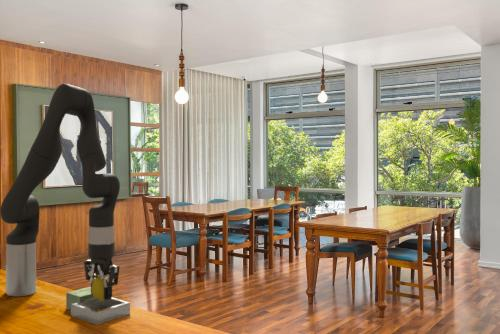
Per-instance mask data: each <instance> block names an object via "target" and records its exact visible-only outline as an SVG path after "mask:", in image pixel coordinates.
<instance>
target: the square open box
mask: <svg viewBox="0 0 500 334" xmlns="http://www.w3.org/2000/svg"><path fill="white" fill-rule="evenodd" d="M65 295H66V296H65V297H66V300H65V303H66V304H65V309H67V310H69V311H70V316H71V317H73V318H76V319H79V320H82V321H85V322H87V323H89V324H92V325H96V326H97V325H101V324H103V323H107V322H109V321H112V320H116V319H119V318H121V317H125V316H129V315H130V314H131V302H130V301H126V300H122V299H120V298H116V297H113V296H112V298H111V299H109V300H105V299H104V300H103V301H102V302H100V301H99V300H98V299H96V298H95V297H94V296H92V295H91V286H87V287H83V288H79V289H75V290H71V291H67V292H66V293H65Z"/></svg>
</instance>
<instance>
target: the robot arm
mask: <svg viewBox="0 0 500 334" xmlns="http://www.w3.org/2000/svg"><path fill="white" fill-rule="evenodd" d="M66 115H70V116H74V117H77V118H78V119H79V123H80V126H81V130H80V133H79V136H78V139H77V142H76V143H77V144H76V147H77V153H78V156H79V157H78V158H79V160H80V163H81V167H82V191H83V194H84V195H85V196H86V197H88V198H91V199H101V198H102V201H101V202H100V203H99V204H97V205H93V206H91V207H90V208H89V210H88V233H87V236H88V237H87V248H88V249H87V255H88V258H90V259H87V260H84V261H83V264H84V265H83V266H84V275H85V280H86V281H89V284H90V287H91V295H92V296H93V294H92V283H93V281H94V280H95V278H97V277H99V276H101V280H103V282H104V286H105V287H104V299H105V300H109V299H111V298H112V297H113V288H114V286H117V285H118V283H119V274H120V265H115V264H113V260H112V259H113V257H114V256H115V255H116V254H115V253H116V251H115V240H116V239H115V225H114V222H115V221H114V217H115V213H114V212H115V207H116V206H117V205H116V204H117V201H118V196H119V193H120V188H121V185H120V184H121V183H120V180H119V178H118V176H117V175H116V174H114V173H97V172H99V171H101V170H103V169H104V168H105V167H106V165H107V160H106V157H105V154H104V150H103V148H102V145H101V142H100V138H99V133H98V125H97V116H96V110H95V105H94V99H93V96H92V93H91V92H90V91H89V90H88V89H85V88H83V87H79V86H76V85H72V84H69V83H61V84H60V85H58V87H56V89H55V91H54V92H53V94H52V97H51V99H50V102H49V105H48V109H47V111H46V114H45V115H44V116H45V117H44V119H43V122H42V124H41V127H40V129H39V131H38V134H37V136H36V138H35V139H34V141H33V143H32V145H31V147H30V149H29V151H28V154H27V156H26V158H25V161H24V163H23V164H22V167H21V169H20V171H19V173H18V174H17V177H16V179H15V181H14V183H13V184H12V185H11V187H10V189H9V190H8V192H7V194H5V196H4V199H3V200H2V202H1V205H0V217H1V219H2V221H3V222H4V223H7V224H9V225H11V224H12V225H14V224H16V225H15V228H14V229H13V230H12V231H10V232H9V233H8V234H7V235H6V238H5V239H6V240H5V244H6V245H5V246H6V248H5V249H6V251H5V254H6V257H5V258H6V264H5V293H6V295H7V296H8V297H25V296H31V295H34V294H35V293H36V292H37V236H38V234H39V231H40V203H39V201H38V198H37V197H35V196H34V195H33V194H32V193H33V192H34V190H35V189H36V188H38V187H39V185H40V184H41V183H43V182H44V181H45V180H46V179H47V178H48V177H50V175H52V172H53V171H54V170H55V168H56V166H57V165H58V163H59V161H60V159H61V157H62V153H63V145H62V140H61V139H62V138H61V134H60V129H61V125H62V122H63V120H64V118H65V116H66ZM107 279H109V282H107Z"/></svg>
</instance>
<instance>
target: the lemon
mask: <svg viewBox="0 0 500 334" xmlns="http://www.w3.org/2000/svg"><path fill="white" fill-rule="evenodd" d="M107 282H109V279H107ZM104 287H105V286H104V282H103V280H101V276H99V277H97V278H96V277H95V280H94V281H93V283H92V294H93V296H94V297H95V298H96V299H98V300H99V301H100V302H102V301H103V300H104Z"/></svg>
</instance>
